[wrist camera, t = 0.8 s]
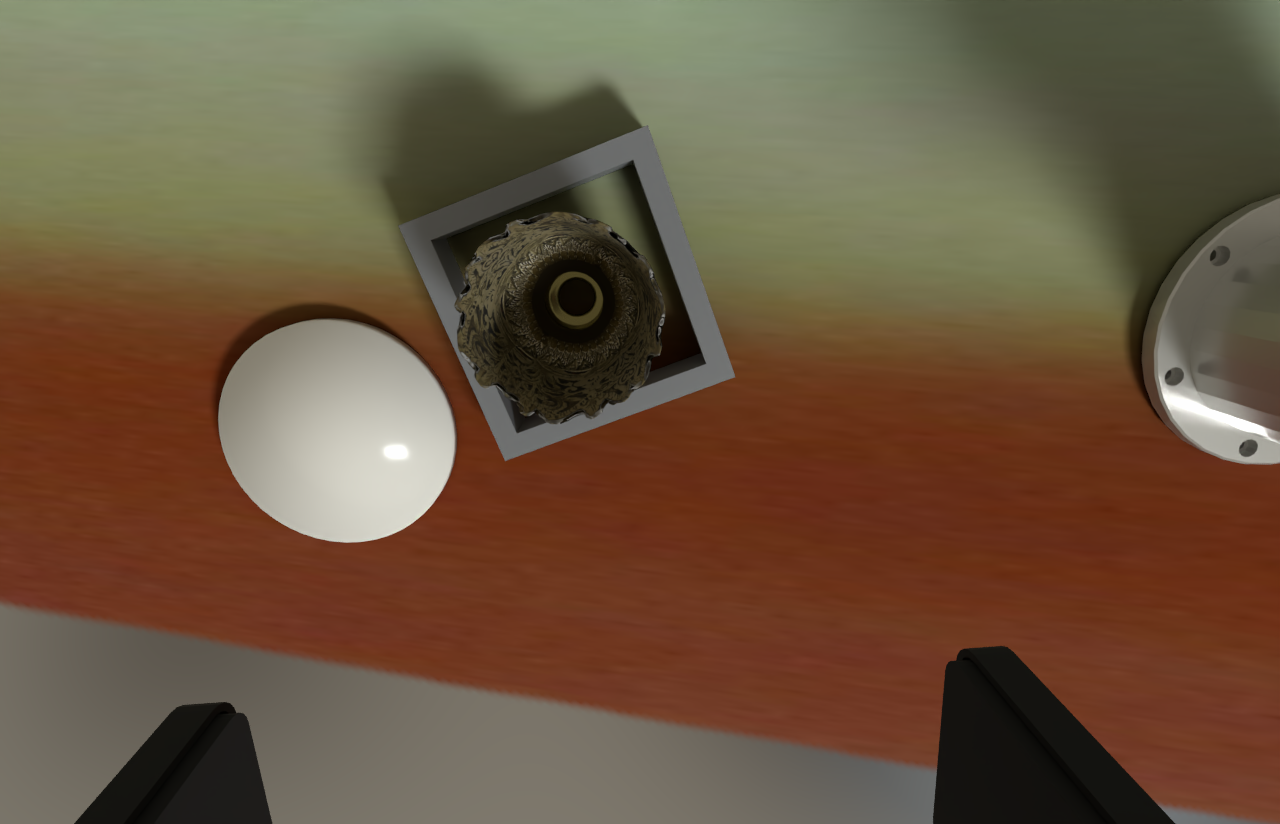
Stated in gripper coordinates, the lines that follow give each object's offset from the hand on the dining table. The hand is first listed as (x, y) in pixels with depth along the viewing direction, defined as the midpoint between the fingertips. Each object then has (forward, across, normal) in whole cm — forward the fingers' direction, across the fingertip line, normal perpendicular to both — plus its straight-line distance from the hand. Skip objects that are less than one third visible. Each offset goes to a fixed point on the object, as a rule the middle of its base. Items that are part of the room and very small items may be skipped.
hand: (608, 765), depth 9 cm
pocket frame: (+25, +1, -4) cm, 25 cm away
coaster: (+25, +13, +2) cm, 29 cm away
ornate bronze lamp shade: (+25, +1, -4) cm, 25 cm away
